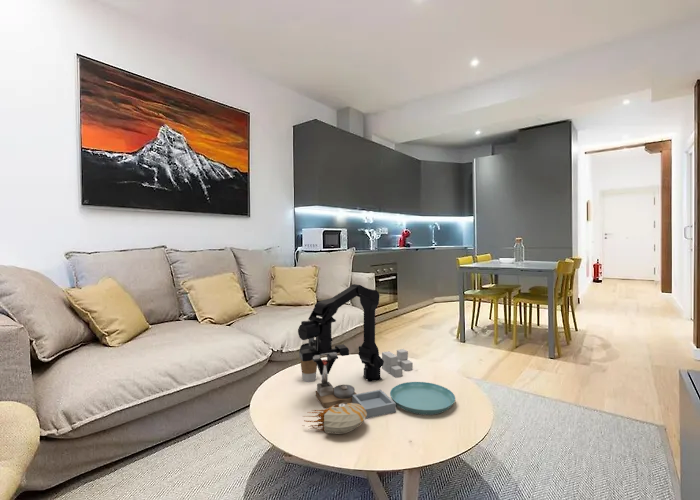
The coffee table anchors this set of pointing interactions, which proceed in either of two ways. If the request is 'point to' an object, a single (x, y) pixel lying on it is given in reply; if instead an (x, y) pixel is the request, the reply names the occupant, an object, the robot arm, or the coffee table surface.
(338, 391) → the pulley block
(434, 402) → the teal round plate
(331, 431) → the nautilus
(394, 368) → the puzzle cube
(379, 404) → the tray
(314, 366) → the coffee cup
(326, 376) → the lock pin
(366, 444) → the coffee table surface
